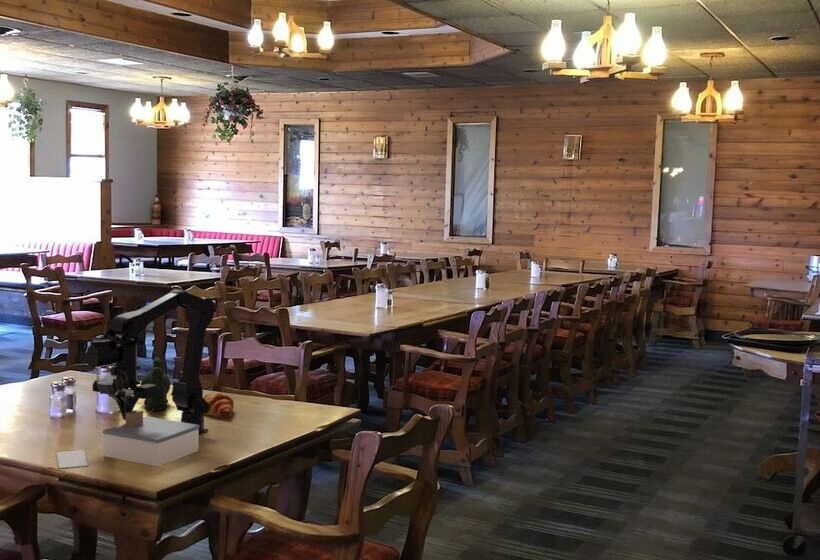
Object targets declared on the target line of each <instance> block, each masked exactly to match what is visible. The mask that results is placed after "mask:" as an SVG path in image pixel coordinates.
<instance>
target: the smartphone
mask: <svg viewBox="0 0 820 560" xmlns="http://www.w3.org/2000/svg"><path fill="white" fill-rule="evenodd" d="M55 455H56V460H57V466H58V469H59V470H64V469H74V468H75V469H77V468H84V467H85V468H86V467H89V462H88V458H87V456H86V452H85V449H76V450H65V451H62V450H61V451H57V452H56V453H55Z"/></svg>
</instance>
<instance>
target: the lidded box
mask: <svg viewBox="0 0 820 560" xmlns="http://www.w3.org/2000/svg"><path fill="white" fill-rule="evenodd" d="M199 435H200V434H199V429H195V430H192V431H190V432H187V433H184V434H181V435H178V436H176V437H173V438H170V439H167V440H164V441H162V442H159V443H155V442H149V441H143V440H138V439H132V438H127V437H121V436H115V435H110V434H104V433H103V457H107V458H112V459H117V460H122V461H126V462H133V463H139V464H143V465H149V466H155V467H161V466H163V465H166V464H168V463H171V462H174V461H176V460H179V459H181V458H184V457H186V456H188V455H191V454H194V453H196V452H198V451H199V438H200V437H199Z"/></svg>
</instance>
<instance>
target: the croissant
mask: <svg viewBox="0 0 820 560" xmlns="http://www.w3.org/2000/svg"><path fill="white" fill-rule="evenodd" d="M203 398H204V399H205V400H206V401H207V403H208V404H209V405H210V409H209V412H208V413H205V415H207V416H213V417H217V418H222V419H223V418H227V417H230V416H232V415H233V413H234V403H235V401H234V400H233V398H232V397H231V396H230V395H228V394H225V393H223V392H216V393H211V394H206V395H204V397H203Z"/></svg>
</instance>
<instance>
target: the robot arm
mask: <svg viewBox="0 0 820 560" xmlns="http://www.w3.org/2000/svg"><path fill="white" fill-rule="evenodd" d="M178 307H179V308H181V309H183V310H185V315H184V317H185V320H186V322H187V326H188V331H187V336H186V344H185V351H184V352H185V353H184V357H183V365H182V372H181V377H180V378H179V379H178V381H176V380H175V381H173V382H172V390H171V393H170V396H172V397H171V398H172V399H171V400H172V402H173V404H174V405H175V407H176V410H177V411H180V412H181V418H180V422H184V423H190V424H196V425H200V428H198V429H199V435H202V434H203V433H206V432H208V431H209V429H208V428H205V415H206V413H208V412H209V409H210V405H209V404H208V403H207V401H206V400H205V399H204V397H203V395H204V394H203V392H204V390H203V385H202V383H201V379H200V374H201V368H202V360H203V353H204V345H205V340H206V334H207V329H208V327H209V326H210V325H211V323H212V321H213V319H214V315H215V312H216V303H215V302H214V300H213V299H211V298H209V297H202V296H197V295H194V294H191V293H189V292H187V291H186V290H181V289H180V290H179V289H173V290H170V291H169V293H167V294H165V295H162V297H160V298H158V299H156V300H154V301H152V302H150V303H148V304H147V305H145V306H143V307H141V308H140V309H137V310H134V311H133V310H132V311H127V312H124V313H121V314H118V315H116V316H114V317H113V318H112V319H111V323H110V326H109V327H108V329H107V331H106V332H105V334H104V336H103V337H102V340H91V341H90V345H89V346H88V347H87V349H86V352H85V361H86V363H87V365H88V366H89V367H90V368H101V367H104V366H111V367H110V372H109V373H108V374H107V375H105V376H104V377H102V378H100V379H97V380H95V379H94V381H93V383H92V392H96V393H99V394H100V395H108V397H110V398H112V399H113V400H114V401H115V402H116V404H117V406H118V409H119V411H120V414H121V417H122V420H124V421H126V413H127V412H130V411H133V410H134V408H135V406H136V404H137V402H138V401H139V400H140V399H141V400H145V399H148V398H151V397H155V396H158V395H160V388H159V387H158V386H157V385H153V384H144V385H141V379H138V370H141V365H140V364H139V365H138V346H140V345H145V341H144V340H142V339H141V338H140V337H139V336H140V335H141V334H142V333H143V332H144V331H146V329H147V327H148V326H149V325H150V324H151V323H152V322H154V321H156V320H158V319H159V318H161V317H163V316H165V315H166V314H168V313H170V312H172V311H173V310H175V309H177V308H178ZM112 365H114V366H112Z"/></svg>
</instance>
